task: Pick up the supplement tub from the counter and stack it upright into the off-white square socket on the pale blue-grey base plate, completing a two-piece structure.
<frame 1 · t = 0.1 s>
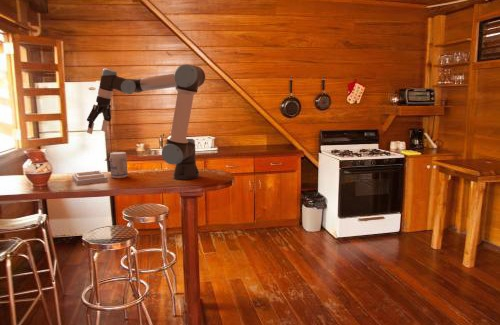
hand: (96, 132, 225), 28 cm above the breakfast bar, tool tilted 20°, fingers open, 13 cm apart
base plate: (89, 180, 227), on the breakfast bar
supplement tub: (119, 177, 236), on the breakfast bar
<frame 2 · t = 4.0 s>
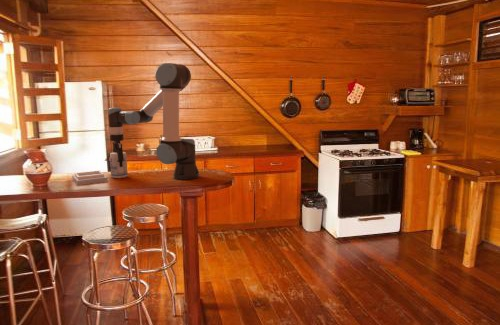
hand: (119, 171, 235), 4 cm above the breakfast bar, tool pointing down, fingers closed on supplement tub, 10 cm apart
supplement tub: (119, 177, 236), on the breakfast bar, touching gripper
when the fingers open (8 cm above the breakfast bar, at t = 10.1 s): supplement tub drops 2 cm, resting on base plate.
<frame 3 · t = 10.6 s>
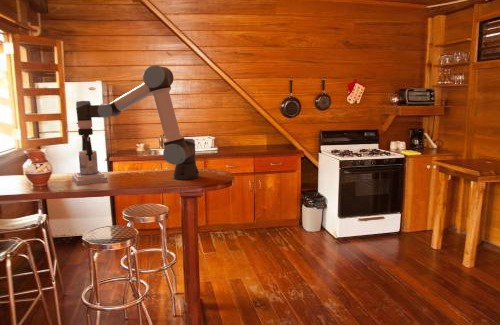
hand: (88, 164, 226), 9 cm above the breakfast bar, tool pointing down, fingers open, 13 cm apart
supplement tub: (89, 176, 226), point 2 cm above the breakfast bar, touching base plate
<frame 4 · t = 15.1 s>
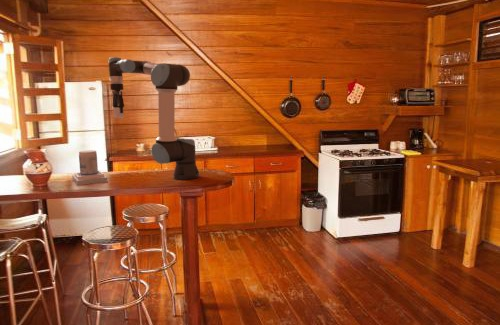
hand: (119, 118, 244), 35 cm above the breakfast bar, tool pointing down, fingers open, 13 cm apart
nothing on the breakfast bar moved.
at the end: supplement tub 0.4 cm off-centre on the base plate, point 2.3 cm above the base plate's base; supplement tub tilted 0°; the gripper is holding nothing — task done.
